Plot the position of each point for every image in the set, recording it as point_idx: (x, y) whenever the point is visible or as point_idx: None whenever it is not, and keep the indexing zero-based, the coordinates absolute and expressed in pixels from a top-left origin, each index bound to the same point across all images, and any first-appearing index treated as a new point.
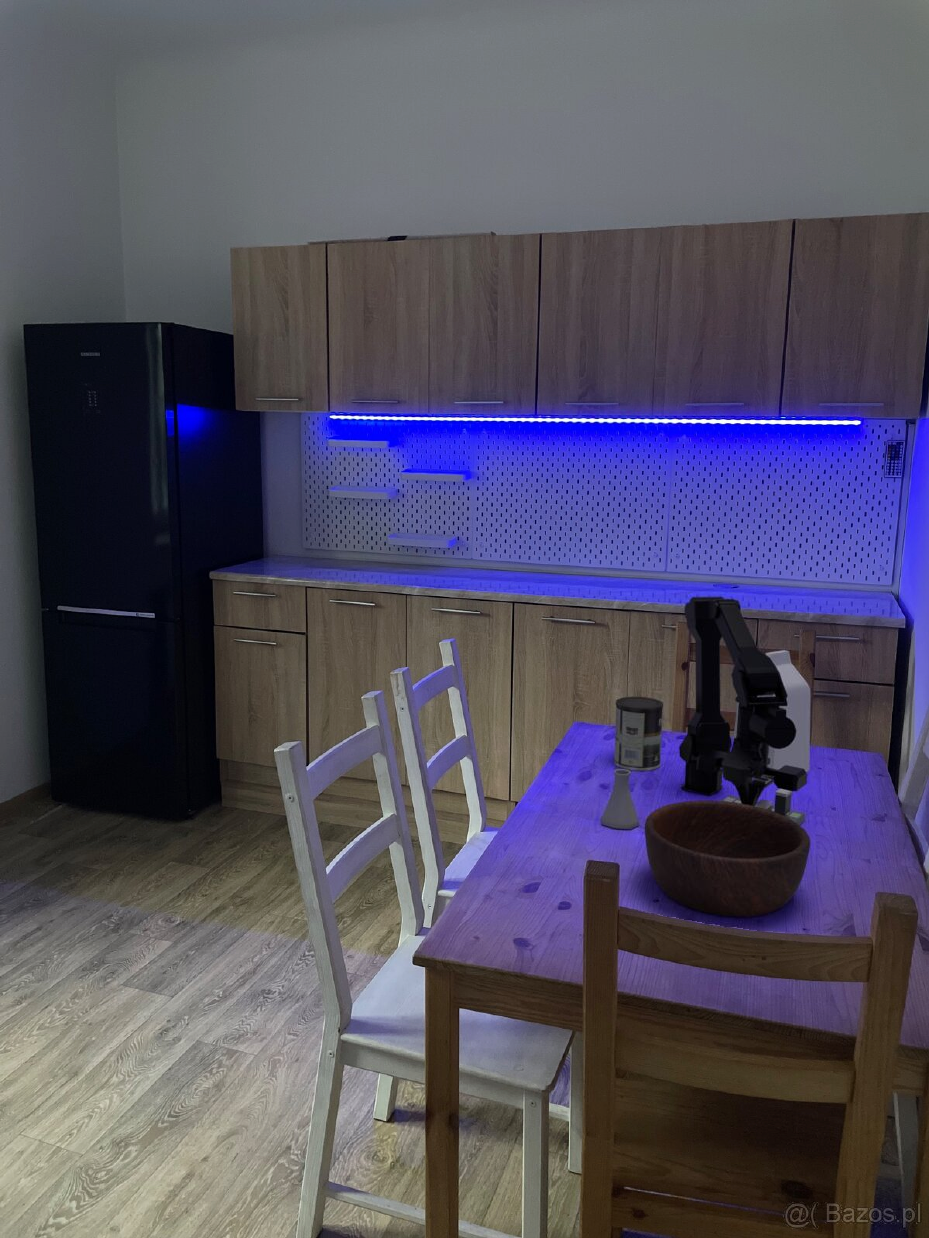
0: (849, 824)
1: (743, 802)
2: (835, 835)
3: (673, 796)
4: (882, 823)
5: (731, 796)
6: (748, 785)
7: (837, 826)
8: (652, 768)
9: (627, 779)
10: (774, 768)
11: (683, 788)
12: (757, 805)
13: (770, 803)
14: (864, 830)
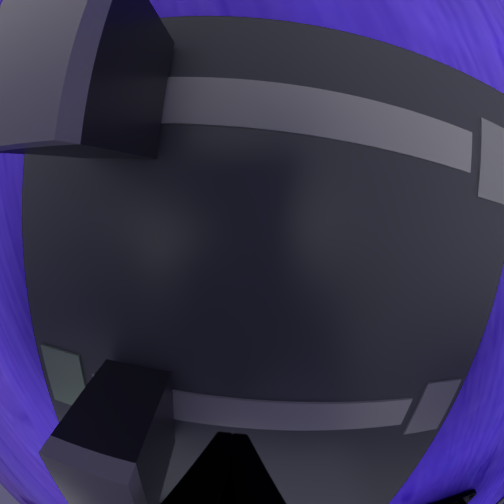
0: (36, 485)
1: (258, 496)
2: (5, 426)
3: (499, 449)
4: (15, 490)
5: None
6: None
7: (40, 475)
8: (502, 501)
9: None
10: None
11: (471, 491)
12: (111, 470)
13: (67, 498)
14: (2, 461)
